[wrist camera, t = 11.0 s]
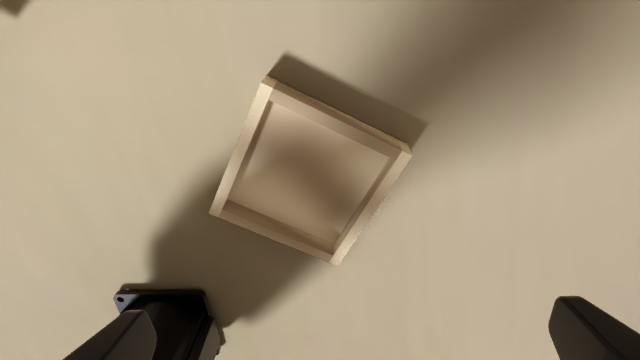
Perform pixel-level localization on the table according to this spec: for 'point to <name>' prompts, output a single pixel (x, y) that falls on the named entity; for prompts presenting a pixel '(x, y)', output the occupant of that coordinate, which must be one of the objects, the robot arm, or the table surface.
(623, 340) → the robot arm
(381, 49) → the table surface
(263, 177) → the pale maple socket
